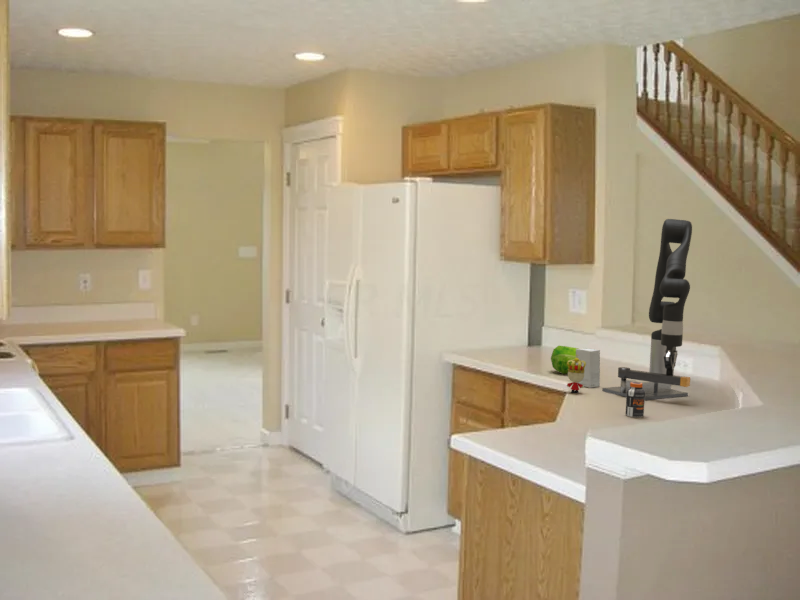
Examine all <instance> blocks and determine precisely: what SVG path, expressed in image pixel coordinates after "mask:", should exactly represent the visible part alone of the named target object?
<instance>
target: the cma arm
mask: <svg viewBox="0 0 800 600" xmlns="http://www.w3.org/2000/svg"><path fill="white" fill-rule="evenodd" d="M617 378H620V379H621V378H626V379H627V380H628V379H635V380H642V381H649V382H656V383H664V384H671V386H673V385H674V386H679V387H684V388H688V387H690V386H691V376H684V375H683V376H680V375H676V374H674V375H667V374H660V373H652V372H649V371H643V370H636V369H631V368H630V367H625V366H621V367H619V366H618V368H617Z"/></svg>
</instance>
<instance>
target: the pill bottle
mask: <svg viewBox="0 0 800 600" xmlns="http://www.w3.org/2000/svg"><path fill="white" fill-rule="evenodd" d="M642 385H643V384H642V383H639V382H631V383H630V388H629V389H628V390H627V397H625V398H626V399H625V415H626V416H627V417H630V418H643V417H644V412H645V401H646V400H645V391H644V390H643V389H642V387H643V386H642Z"/></svg>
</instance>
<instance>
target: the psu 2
mask: <svg viewBox="0 0 800 600" xmlns="http://www.w3.org/2000/svg"><path fill="white" fill-rule="evenodd" d="M671 389H672V385H671V384H664V383H656V382H654V391H655V392H665V391H671Z"/></svg>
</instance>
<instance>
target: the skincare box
mask: <svg viewBox="0 0 800 600" xmlns="http://www.w3.org/2000/svg"><path fill="white" fill-rule="evenodd" d="M577 355H579V356H577ZM576 358H578V359H579V360H581V361H585V362H586V366H585V368H584V370H585V371H584V378H583V380H582V381H580V382H578V383H579V384H582V385H583V386H584V388H585V387H586V388H599V387H600V386H601V377H600V376H601V374H600V373H601V372H600V371H601V366H600V365H601V350H600V349H595V348H594V349H593V348H586V347H585V348H584V347H583V348H579V349H576ZM576 365H578V363H576ZM581 366H582V367H583V366H584V363H583V362H582V365H581ZM577 385H578V384H577Z"/></svg>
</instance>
